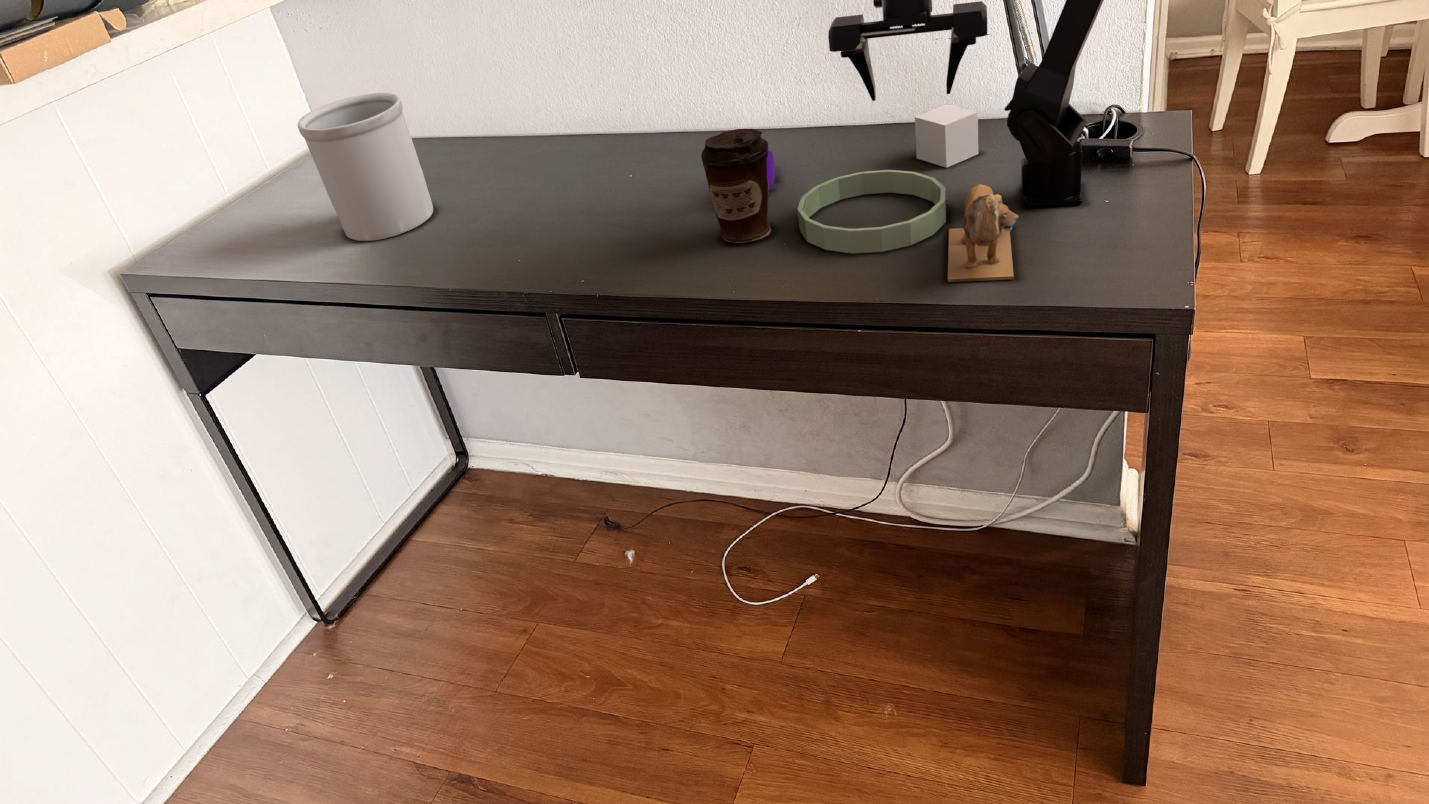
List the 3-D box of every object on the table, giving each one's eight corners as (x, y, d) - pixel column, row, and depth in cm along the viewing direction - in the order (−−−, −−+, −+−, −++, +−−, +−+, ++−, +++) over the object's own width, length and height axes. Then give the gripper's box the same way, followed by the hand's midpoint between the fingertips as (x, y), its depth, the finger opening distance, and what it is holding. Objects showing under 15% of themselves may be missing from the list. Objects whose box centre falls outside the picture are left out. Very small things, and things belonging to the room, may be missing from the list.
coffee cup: (773, 247, 128) (759, 147, 120) (708, 251, 130) (691, 153, 123) (783, 218, 134) (770, 122, 127) (721, 222, 137) (706, 127, 130)
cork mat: (1009, 228, 122) (1009, 225, 122) (1013, 279, 112) (1013, 276, 111) (949, 231, 124) (949, 228, 124) (947, 282, 113) (947, 279, 113)
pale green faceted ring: (947, 187, 135) (946, 165, 133) (945, 248, 120) (944, 225, 119) (810, 196, 139) (807, 175, 138) (792, 256, 125) (789, 234, 123)
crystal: (783, 136, 149) (761, 165, 137) (786, 169, 151) (765, 201, 139) (751, 138, 151) (727, 167, 138) (754, 171, 153) (731, 202, 140)
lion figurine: (1020, 276, 111) (1021, 199, 106) (970, 283, 112) (969, 206, 107) (991, 221, 123) (991, 150, 118) (946, 227, 124) (944, 156, 119)
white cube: (978, 154, 142) (978, 111, 139) (946, 168, 140) (945, 125, 137) (947, 145, 147) (946, 103, 144) (916, 158, 145) (914, 116, 141)
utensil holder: (372, 251, 147) (329, 133, 138) (322, 233, 157) (278, 121, 147) (455, 211, 155) (419, 97, 146) (403, 196, 165) (366, 88, 155)
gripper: (985, -59, 124) (986, 69, 133) (832, -40, 129) (842, 83, 138) (986, -39, 116) (988, 97, 124) (822, -19, 120) (834, 111, 129)
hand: (910, 96), depth 129 cm, fingers open, 9 cm apart
